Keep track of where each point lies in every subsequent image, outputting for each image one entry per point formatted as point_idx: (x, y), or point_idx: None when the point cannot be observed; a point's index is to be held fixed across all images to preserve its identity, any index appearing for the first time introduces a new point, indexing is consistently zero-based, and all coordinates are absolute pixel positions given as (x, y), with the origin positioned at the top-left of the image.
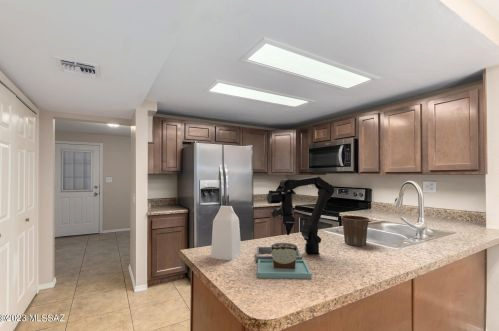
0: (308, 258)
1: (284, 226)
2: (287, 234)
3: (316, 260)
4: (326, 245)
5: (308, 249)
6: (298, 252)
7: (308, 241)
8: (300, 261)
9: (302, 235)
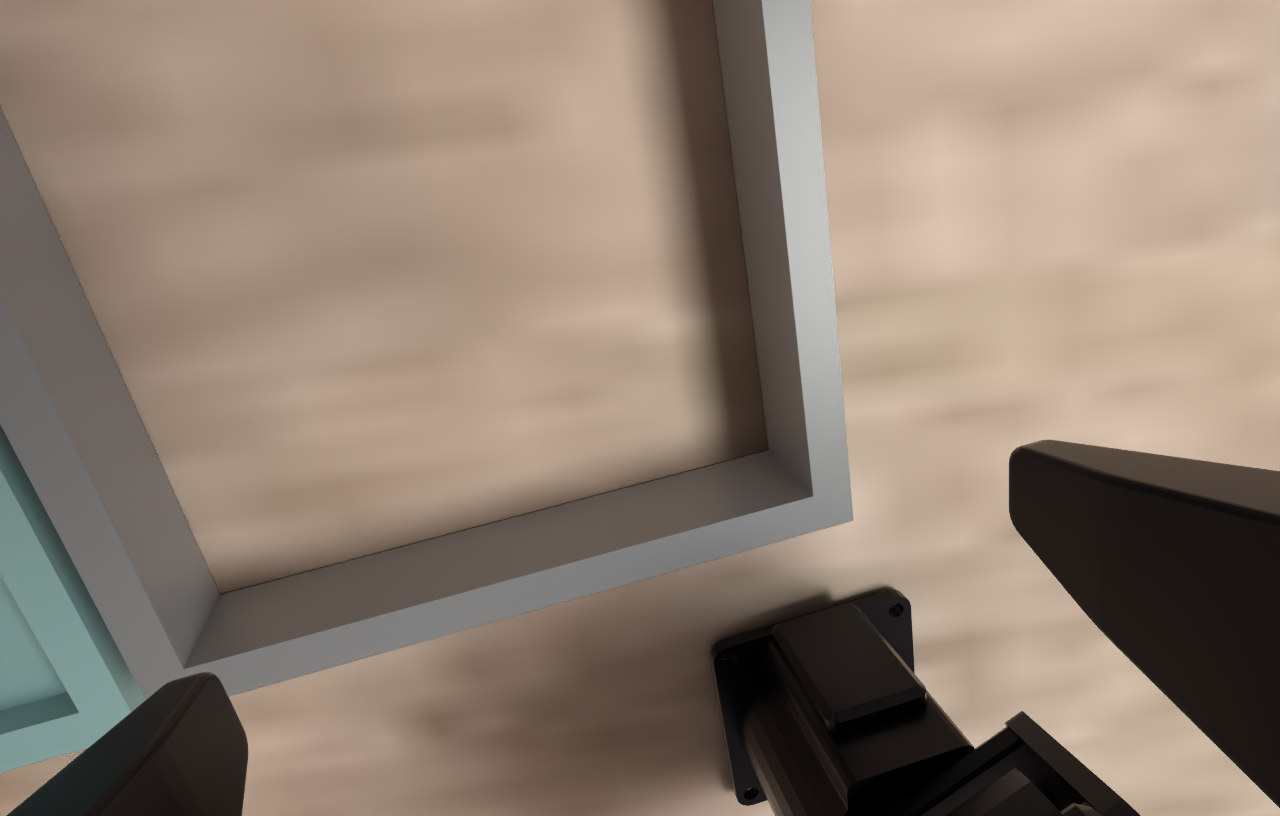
0: (520, 680)
1: (1216, 502)
2: (153, 721)
3: (451, 795)
4: (1198, 794)
5: (787, 700)
6: (466, 601)
7: (892, 806)
8: (64, 663)
9: (1014, 797)
